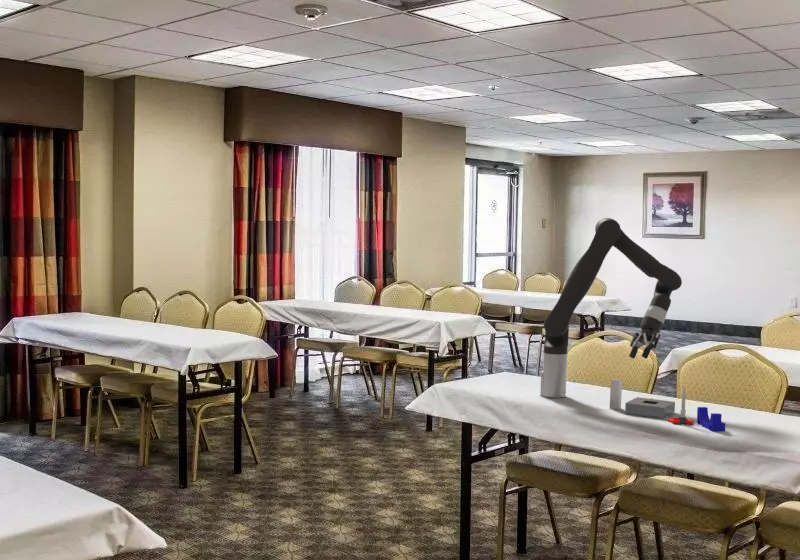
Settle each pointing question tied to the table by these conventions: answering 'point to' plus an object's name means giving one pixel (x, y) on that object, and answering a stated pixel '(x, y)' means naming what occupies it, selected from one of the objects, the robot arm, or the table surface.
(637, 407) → the gray square socket block
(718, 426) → the cable clip
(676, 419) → the red grey spiked stand
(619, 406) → the light grey tall block
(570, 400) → the table surface
